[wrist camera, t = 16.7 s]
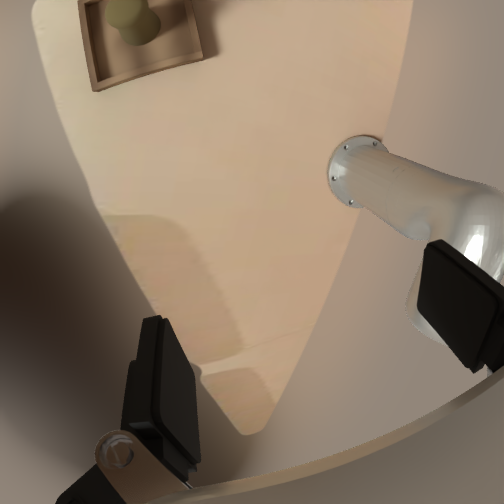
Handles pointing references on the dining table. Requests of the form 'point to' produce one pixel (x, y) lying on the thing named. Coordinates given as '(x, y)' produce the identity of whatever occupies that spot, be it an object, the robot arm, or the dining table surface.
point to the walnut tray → (137, 57)
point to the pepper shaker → (133, 20)
